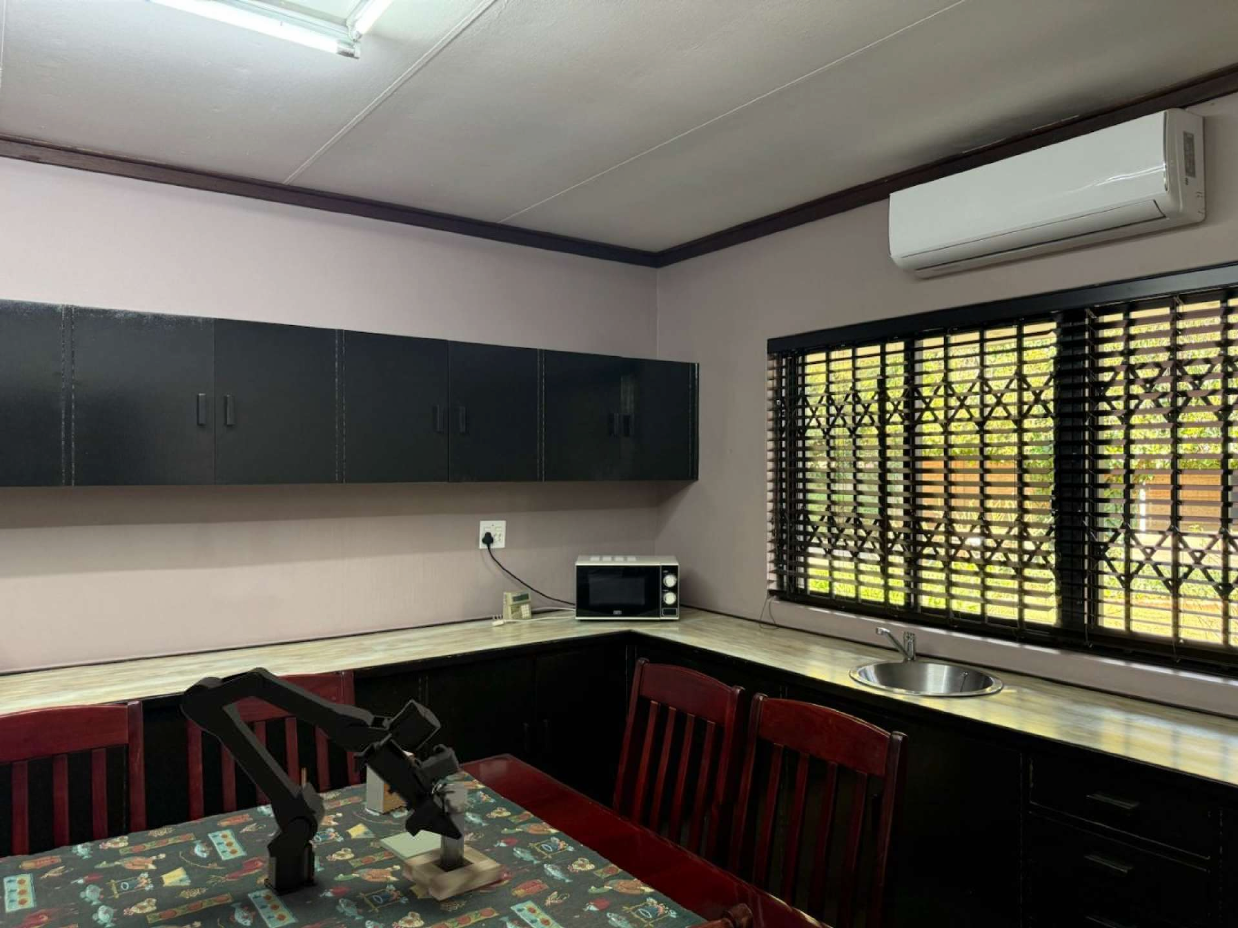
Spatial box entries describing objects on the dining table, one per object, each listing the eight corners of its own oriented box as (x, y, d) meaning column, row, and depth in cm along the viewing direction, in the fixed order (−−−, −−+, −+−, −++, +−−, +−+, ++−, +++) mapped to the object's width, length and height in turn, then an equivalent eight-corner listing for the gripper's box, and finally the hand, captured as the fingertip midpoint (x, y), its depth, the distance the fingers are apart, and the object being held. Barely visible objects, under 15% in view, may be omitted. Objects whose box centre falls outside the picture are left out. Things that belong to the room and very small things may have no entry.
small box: (382, 814, 182) (383, 762, 182) (365, 807, 185) (366, 756, 185) (413, 803, 188) (414, 753, 188) (396, 797, 191) (397, 747, 192)
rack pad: (406, 862, 159) (406, 857, 159) (379, 844, 166) (380, 839, 166) (455, 848, 166) (455, 842, 166) (427, 831, 173) (427, 826, 173)
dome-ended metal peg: (446, 886, 150) (449, 796, 151) (431, 876, 154) (434, 788, 154) (471, 878, 154) (473, 790, 154) (456, 868, 157) (458, 782, 157)
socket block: (439, 900, 145) (439, 884, 145) (402, 875, 154) (403, 860, 154) (500, 879, 153) (500, 864, 153) (462, 856, 162) (462, 842, 162)
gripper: (428, 751, 144) (495, 818, 146) (434, 720, 163) (494, 780, 164) (376, 802, 143) (445, 869, 144) (389, 765, 162) (449, 824, 163)
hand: (460, 832), depth 154 cm, fingers closed on dome-ended metal peg, 4 cm apart
